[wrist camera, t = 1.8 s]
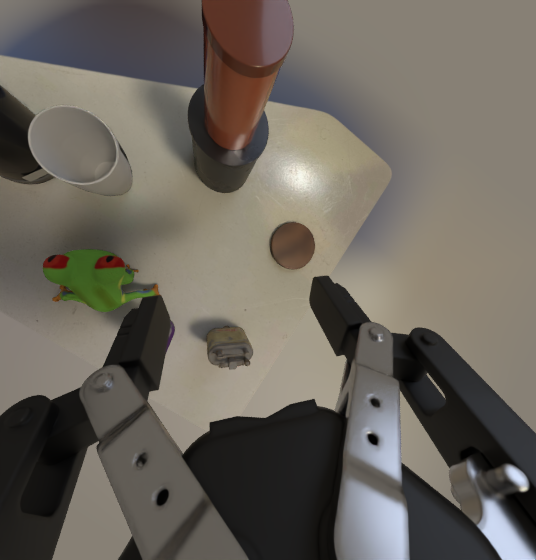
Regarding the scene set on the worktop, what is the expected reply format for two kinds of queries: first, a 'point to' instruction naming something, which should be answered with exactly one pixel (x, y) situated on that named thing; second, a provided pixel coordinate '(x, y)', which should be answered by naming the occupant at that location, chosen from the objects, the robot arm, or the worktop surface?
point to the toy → (93, 278)
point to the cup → (79, 150)
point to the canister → (241, 64)
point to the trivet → (292, 245)
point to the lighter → (228, 347)
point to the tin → (222, 151)
